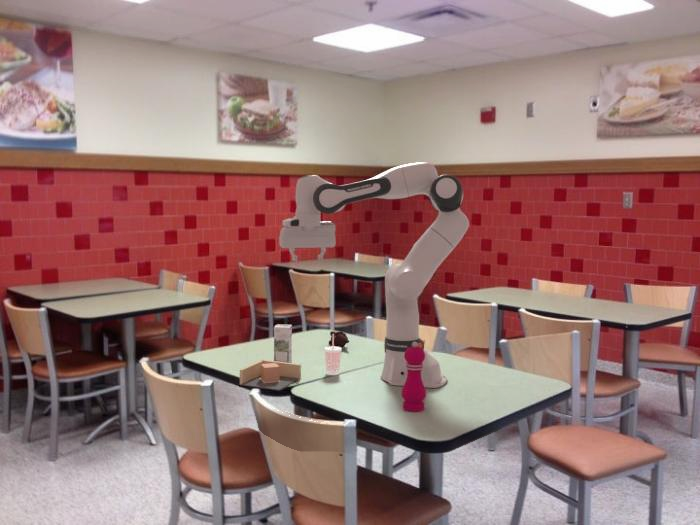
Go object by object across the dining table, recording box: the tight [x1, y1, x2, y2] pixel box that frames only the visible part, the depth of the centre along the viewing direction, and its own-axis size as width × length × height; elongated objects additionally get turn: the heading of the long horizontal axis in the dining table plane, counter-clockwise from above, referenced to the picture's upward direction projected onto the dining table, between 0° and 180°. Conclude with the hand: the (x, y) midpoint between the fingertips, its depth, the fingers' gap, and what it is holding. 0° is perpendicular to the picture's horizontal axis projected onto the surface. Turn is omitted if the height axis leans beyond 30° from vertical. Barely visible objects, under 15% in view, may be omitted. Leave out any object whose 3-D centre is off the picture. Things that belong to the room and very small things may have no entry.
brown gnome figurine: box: [328, 330, 350, 349], centre depth 264 cm, size 7×7×15 cm
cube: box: [261, 363, 280, 383], centre depth 213 cm, size 5×5×5 cm
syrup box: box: [273, 323, 293, 363], centre depth 236 cm, size 6×6×14 cm
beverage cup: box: [323, 334, 343, 376], centre depth 224 cm, size 6×6×14 cm
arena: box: [239, 359, 302, 392], centre depth 213 cm, size 15×15×5 cm
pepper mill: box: [401, 342, 427, 413], centre depth 187 cm, size 7×7×20 cm
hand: (307, 260), depth 227 cm, fingers open, 8 cm apart
